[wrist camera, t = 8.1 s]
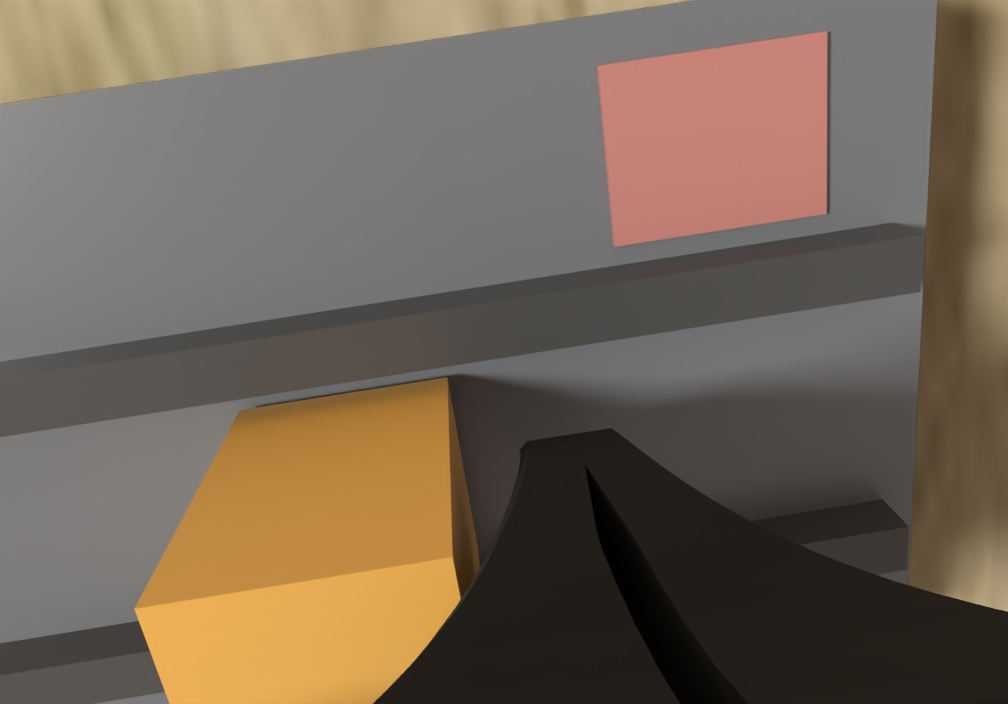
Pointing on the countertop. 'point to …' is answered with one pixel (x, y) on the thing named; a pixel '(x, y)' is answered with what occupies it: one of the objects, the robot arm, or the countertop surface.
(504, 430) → the switch panel
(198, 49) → the countertop surface
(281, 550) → the knob
